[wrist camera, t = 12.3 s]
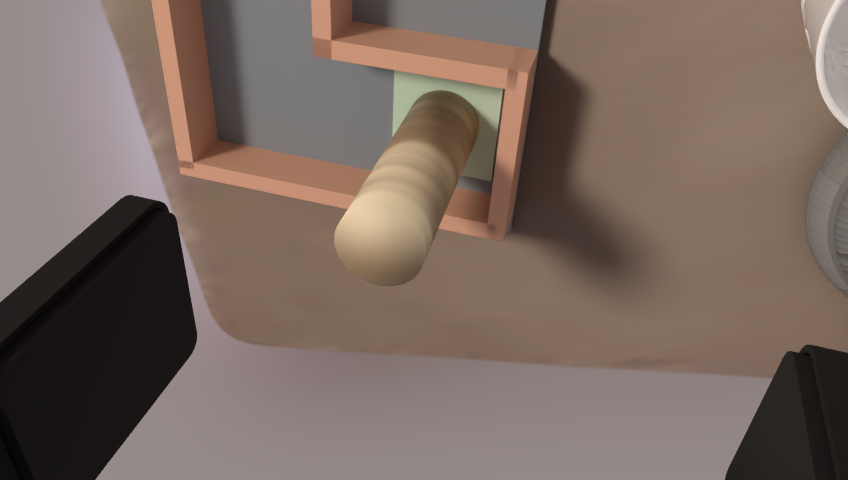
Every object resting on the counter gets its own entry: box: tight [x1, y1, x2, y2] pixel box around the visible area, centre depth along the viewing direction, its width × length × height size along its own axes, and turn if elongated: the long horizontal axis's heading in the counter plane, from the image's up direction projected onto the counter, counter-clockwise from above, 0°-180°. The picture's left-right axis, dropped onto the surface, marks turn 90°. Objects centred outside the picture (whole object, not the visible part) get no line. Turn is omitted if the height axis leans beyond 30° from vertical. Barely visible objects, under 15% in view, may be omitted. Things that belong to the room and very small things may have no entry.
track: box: [151, 0, 547, 242], centre depth 38 cm, size 23×20×4 cm
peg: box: [334, 90, 479, 286], centre depth 36 cm, size 4×4×12 cm
